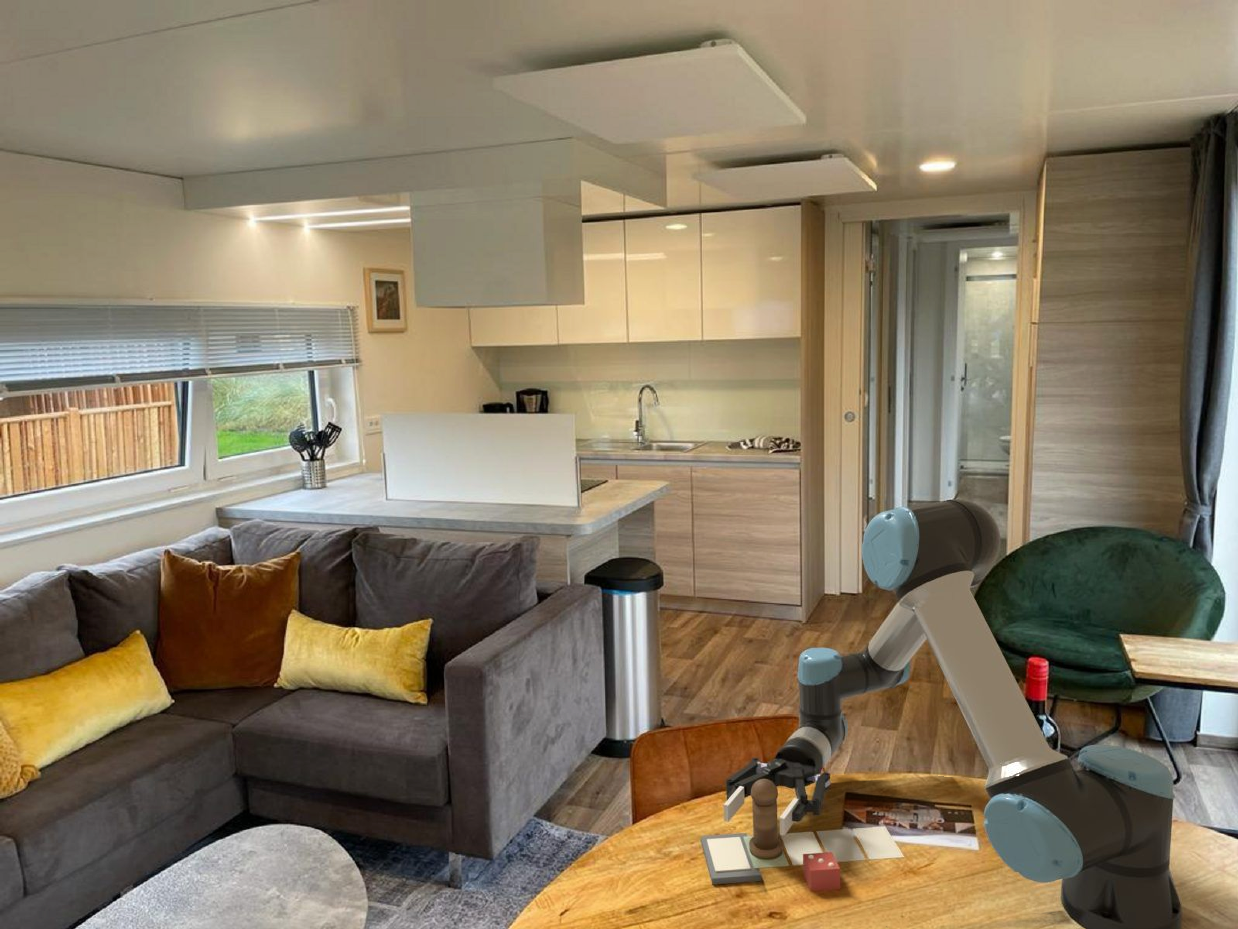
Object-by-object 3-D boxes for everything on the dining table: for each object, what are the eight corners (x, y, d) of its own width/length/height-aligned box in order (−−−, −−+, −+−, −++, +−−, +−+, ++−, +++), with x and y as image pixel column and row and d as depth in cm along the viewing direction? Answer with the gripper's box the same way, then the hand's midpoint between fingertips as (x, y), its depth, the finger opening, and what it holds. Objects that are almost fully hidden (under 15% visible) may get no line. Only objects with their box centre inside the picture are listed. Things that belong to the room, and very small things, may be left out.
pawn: (786, 858, 150) (784, 787, 148) (753, 861, 149) (750, 790, 147) (778, 839, 155) (776, 771, 153) (746, 842, 155) (744, 773, 152)
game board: (912, 869, 147) (912, 862, 147) (712, 884, 146) (711, 877, 146) (886, 828, 159) (886, 821, 159) (700, 841, 158) (700, 834, 158)
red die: (840, 896, 142) (839, 866, 141) (810, 898, 141) (810, 868, 141) (831, 878, 146) (831, 850, 145) (803, 881, 146) (802, 852, 145)
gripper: (863, 790, 162) (821, 859, 142) (745, 766, 172) (691, 826, 153) (863, 748, 160) (820, 812, 141) (744, 726, 171) (689, 782, 152)
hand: (753, 819), depth 147 cm, fingers open, 8 cm apart
